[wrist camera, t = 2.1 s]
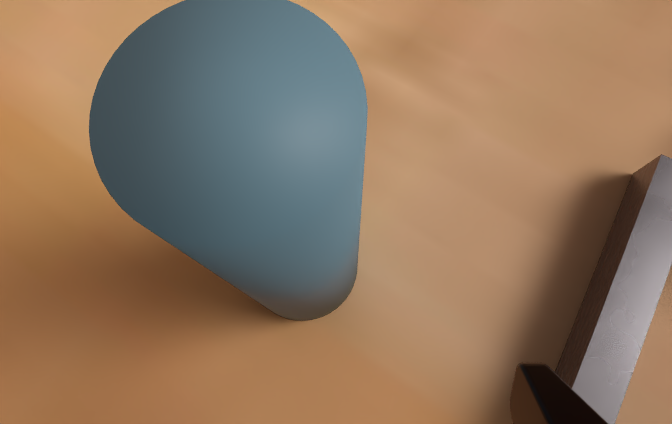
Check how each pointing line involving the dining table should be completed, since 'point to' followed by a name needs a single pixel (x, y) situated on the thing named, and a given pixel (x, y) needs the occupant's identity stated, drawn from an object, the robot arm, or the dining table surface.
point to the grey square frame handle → (622, 293)
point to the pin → (241, 146)
